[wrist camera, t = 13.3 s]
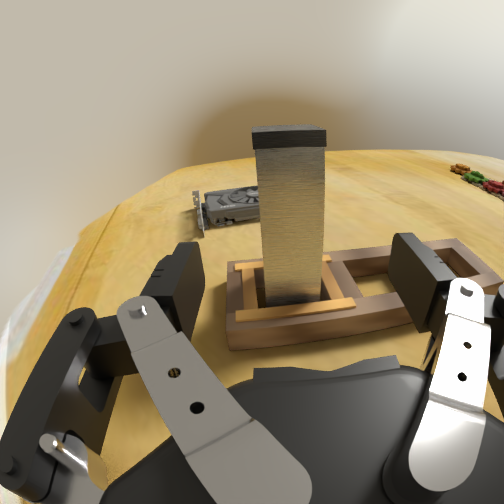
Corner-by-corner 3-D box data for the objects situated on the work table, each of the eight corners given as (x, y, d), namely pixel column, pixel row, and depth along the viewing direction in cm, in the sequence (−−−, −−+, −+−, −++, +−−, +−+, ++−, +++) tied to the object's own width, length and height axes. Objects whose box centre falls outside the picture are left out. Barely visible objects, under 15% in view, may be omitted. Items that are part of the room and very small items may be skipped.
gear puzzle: (437, 170, 65) (438, 156, 63) (470, 171, 66) (472, 159, 64) (519, 213, 38) (523, 195, 36) (544, 210, 39) (547, 195, 37)
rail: (452, 253, 28) (456, 236, 27) (497, 297, 20) (504, 279, 19) (230, 279, 27) (227, 259, 26) (229, 350, 20) (225, 329, 18)
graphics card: (192, 216, 34) (191, 188, 45) (196, 243, 36) (194, 210, 47) (321, 200, 37) (292, 176, 47) (320, 225, 39) (292, 197, 49)
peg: (310, 288, 25) (311, 124, 18) (319, 319, 22) (326, 129, 15) (264, 291, 25) (251, 126, 19) (266, 324, 22) (251, 132, 15)
